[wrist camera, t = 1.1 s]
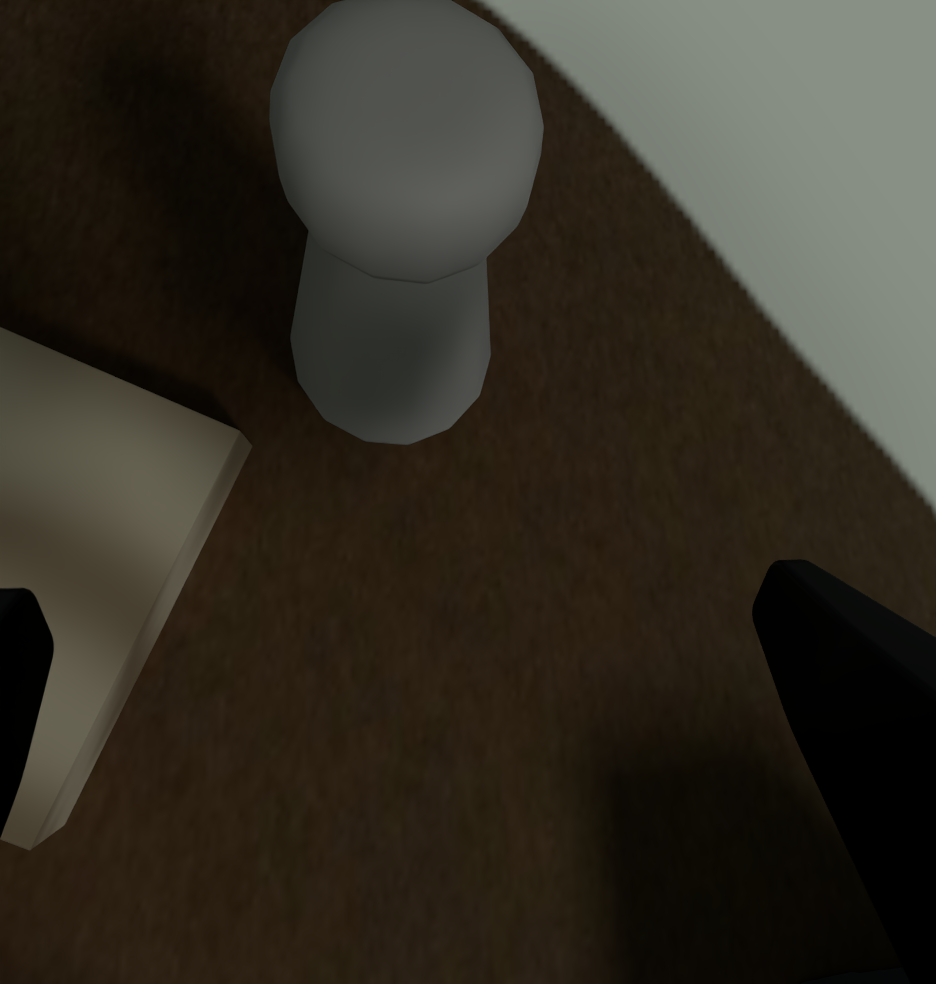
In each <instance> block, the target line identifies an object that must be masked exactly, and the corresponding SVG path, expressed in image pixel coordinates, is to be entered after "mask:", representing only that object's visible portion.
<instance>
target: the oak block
mask: <svg viewBox="0 0 936 984" xmlns="http://www.w3.org/2000/svg"><path fill="white" fill-rule="evenodd" d="M251 448H252V445H251V444H250V442H249V441H248V440H247V439H246V437H245V436H244V435H243V434H242V433H241V431H239V430H237V429H235V428H232V427H230V426H228V425H225V424H223V423H221V422H218V421H216V420H214V419H211V418H209V417H207V416H204V415H202V414H200V413H198V412H195V411H193V410H191V409H188V408H186V407H184V406H181V405H179V404H177V403H174V402H172V401H170V400H167V399H165V398H163V397H161V396H158V395H156V394H154V393H151V392H149V391H147V390H144V389H142V388H140V387H137V386H135V385H133V384H130V383H128V382H126V381H124V380H121V379H119V378H117V377H114V376H112V375H110V374H107V373H105V372H103V371H100V370H98V369H96V368H94V367H91V366H89V365H87V364H84V363H82V362H80V361H77V360H75V359H73V358H70V357H68V356H66V355H63V354H61V353H59V352H57V351H54V350H52V349H50V348H47V347H45V346H43V345H40V344H38V343H36V342H33V341H31V340H29V339H26V338H24V337H22V336H20V335H17V334H15V333H13V332H10V331H8V330H6V329H3V328H1V327H0V588H20V587H23V588H27V589H30V590H31V591H32V592H33V593H34V594H35V596H36V598H37V600H38V603H39V605H40V607H41V610H42V612H43V615H44V617H45V619H46V622H47V624H48V626H49V629H50V631H51V633H52V637H53V641H54V654H53V659H52V663H51V667H50V671H49V675H48V679H47V683H46V687H45V691H44V695H43V699H42V703H41V707H40V711H39V715H38V719H37V723H36V727H35V731H34V735H33V739H32V743H31V747H30V751H29V755H28V759H27V763H26V766H25V770H24V773H23V777H22V780H21V783H20V786H19V789H18V792H17V795H16V798H15V801H14V804H13V806H12V809H11V812H10V814H9V817H8V819H7V822H6V825H5V827H4V830H3V833H2V835H1V838H0V839H1V840H4V841H6V842H9V843H12V844H14V845H17V846H19V847H22V848H25V849H27V850H31V849H32V848H34V847H35V846H36V845H38V844H39V843H40V842H42V841H43V840H45V839H46V838H47V837H49V836H50V835H51V834H53V833H54V832H56V831H57V830H58V829H60V828H61V827H62V826H64V825H65V823H66V821H67V819H68V817H69V815H70V813H71V811H72V809H73V807H74V805H75V803H76V801H77V799H78V797H79V795H80V793H81V791H82V789H83V787H84V785H85V783H86V781H87V779H88V777H89V775H90V773H91V771H92V769H93V767H94V765H95V763H96V761H97V759H98V757H99V755H100V753H101V751H102V749H103V747H104V744H105V742H106V740H107V738H108V736H109V734H110V732H111V730H112V728H113V726H114V724H115V722H116V720H117V718H118V716H119V714H120V712H121V710H122V708H123V706H124V704H125V702H126V700H127V698H128V696H129V694H130V692H131V690H132V688H133V686H134V684H135V682H136V680H137V678H138V676H139V674H140V672H141V670H142V668H143V666H144V664H145V662H146V660H147V658H148V656H149V654H150V652H151V650H152V648H153V646H154V644H155V642H156V640H157V638H158V636H159V634H160V632H161V630H162V628H163V626H164V624H165V622H166V620H167V618H168V616H169V613H170V611H171V609H172V607H173V605H174V603H175V601H176V599H177V597H178V595H179V593H180V591H181V589H182V587H183V585H184V583H185V581H186V579H187V577H188V575H189V573H190V571H191V569H192V567H193V565H194V563H195V561H196V559H197V557H198V555H199V553H200V551H201V549H202V547H203V545H204V543H205V541H206V539H207V537H208V535H209V533H210V531H211V529H212V527H213V525H214V523H215V521H216V519H217V517H218V515H219V513H220V511H221V509H222V507H223V505H224V503H225V501H226V499H227V497H228V495H229V493H230V491H231V489H232V487H233V485H234V482H235V480H236V478H237V476H238V474H239V472H240V470H241V468H242V466H243V464H244V462H245V460H246V458H247V456H248V454H249V452H250V450H251Z"/></svg>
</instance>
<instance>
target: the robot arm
mask: <svg viewBox="0 0 936 984" xmlns="http://www.w3.org/2000/svg"><path fill="white" fill-rule="evenodd" d="M752 616H753V622H754V625H755V628H756V631H757V634H758V637H759V640H760V643H761V646H762V649H763V651H764V654H765V657H766V660H767V663H768V666H769V669H770V672H771V674H772V677H773V680H774V683H775V686H776V689H777V692H778V695H779V697H780V700H781V703H782V706H783V709H784V712H785V714H786V717H787V719H788V722H789V724H790V727H791V729H792V732H793V734H794V736H795V738H796V741H797V743H798V745H799V747H800V750H801V752H802V754H803V756H804V758H805V760H806V762H807V764H808V767H809V769H810V771H811V773H812V775H813V777H814V779H815V782H816V784H817V786H818V788H819V790H820V792H821V794H822V797H823V799H824V801H825V803H826V805H827V807H828V809H829V811H830V814H831V816H832V818H833V820H834V822H835V824H836V826H837V829H838V831H839V833H840V835H841V837H842V839H843V841H844V843H845V846H846V848H847V850H848V852H849V854H850V856H851V858H852V861H853V863H854V865H855V867H856V869H857V871H858V873H859V875H860V878H861V880H862V882H863V884H864V886H865V888H866V890H867V893H868V895H869V897H870V899H871V901H872V903H873V905H874V908H875V910H876V912H877V914H878V916H879V918H880V920H881V922H882V925H883V927H884V929H885V931H886V933H887V935H888V937H889V940H890V942H891V944H892V946H893V948H894V950H895V952H896V954H897V957H898V959H899V961H900V963H901V965H902V967H903V969H904V972H905V974H906V976H907V978H908V980H909V982H910V984H936V637H934V636H933V635H931V634H929V633H928V632H926V631H924V630H923V629H921V628H919V627H918V626H916V625H914V624H913V623H911V622H909V621H908V620H906V619H904V618H903V617H901V616H899V615H898V614H896V613H894V612H893V611H891V610H889V609H888V608H886V607H884V606H883V605H881V604H879V603H878V602H876V601H875V600H873V599H871V598H870V597H868V596H866V595H865V594H863V593H861V592H860V591H858V590H856V589H855V588H853V587H851V586H850V585H848V584H846V583H845V582H843V581H841V580H840V579H838V578H836V577H835V576H833V575H831V574H830V573H828V572H826V571H825V570H823V569H821V568H820V567H818V566H816V565H815V564H813V563H811V562H809V561H807V560H801V559H797V560H778V561H775V562H774V563H773V564H772V565H771V566H770V567H769V569H768V571H767V573H766V576H765V578H764V580H763V583H762V585H761V587H760V590H759V592H758V594H757V596H756V599H755V601H754V604H753V609H752ZM53 654H54V641H53V637H52V633H51V631H50V629H49V626H48V624H47V622H46V619H45V617H44V615H43V612H42V610H41V607H40V605H39V603H38V600H37V598H36V596H35V594H34V593H33V592H32V591H31V590H30V589H27V588H23V587H20V588H0V838H1V835H2V833H3V830H4V827H5V825H6V822H7V819H8V817H9V814H10V812H11V809H12V806H13V804H14V801H15V798H16V795H17V792H18V789H19V786H20V783H21V780H22V777H23V773H24V770H25V766H26V763H27V759H28V755H29V751H30V747H31V743H32V739H33V735H34V731H35V727H36V723H37V719H38V715H39V711H40V707H41V703H42V699H43V695H44V691H45V687H46V683H47V679H48V675H49V671H50V667H51V663H52V659H53Z"/></svg>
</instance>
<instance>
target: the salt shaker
mask: <svg viewBox="0 0 936 984" xmlns="http://www.w3.org/2000/svg"><path fill="white" fill-rule="evenodd" d="M269 121H270V126H271V132H272V138H273V144H274V150H275V155H276V161H277V167H278V173H279V178H280V181H281V184H282V186H283V189H284V192H285V195H286V198H287V201H288V202H289V204H290V205H291V206H292V208H293V209H294V211H295V212H296V213H297V215H298V216H299V218H300V219H301V220H302V222H303V223H304V225H305V226H306V227H307V229H308V230H309V232H308V238H307V243H306V249H305V255H304V261H303V266H302V272H301V278H300V284H299V290H298V295H297V301H296V307H295V313H294V318H293V324H292V330H291V336H290V340H291V346H292V351H293V357H294V363H295V368H296V374H297V379H298V382H299V384H300V385H301V387H302V388H303V389H304V391H305V392H306V394H307V395H308V397H309V398H310V400H311V401H312V402H313V404H314V405H315V407H316V408H317V410H318V411H319V413H320V414H321V416H322V417H323V418H324V419H325V420H326V421H328V422H330V423H332V424H333V425H335V426H337V427H339V428H341V429H343V430H345V431H347V432H348V433H350V434H352V435H354V436H356V437H358V438H360V439H362V440H363V441H365V442H376V443H389V444H403V445H409V444H412V443H414V442H417V441H420V440H422V439H425V438H427V437H430V436H432V435H435V434H437V433H440V432H442V431H445V430H447V429H449V428H450V427H451V426H452V425H453V424H454V423H455V422H456V421H457V420H458V419H459V417H460V416H461V415H462V414H463V413H464V412H465V411H466V410H467V409H468V408H469V407H470V406H471V404H472V403H473V402H474V401H475V400H476V399H477V398H478V397H479V396H480V392H481V389H482V385H483V382H484V378H485V374H486V371H487V367H488V363H489V360H490V356H491V353H490V331H489V309H488V287H487V265H486V257H487V256H488V255H489V254H490V253H491V252H492V251H493V250H494V249H495V248H496V247H497V246H498V245H499V244H500V243H501V242H502V241H503V240H504V239H505V238H506V237H507V236H508V235H509V234H510V233H511V232H512V231H513V230H514V229H515V228H516V227H517V226H518V224H519V222H520V220H521V218H522V215H523V213H524V211H525V209H526V207H527V204H528V201H529V197H530V193H531V189H532V185H533V182H534V178H535V174H536V170H537V167H538V163H539V159H540V155H541V147H542V137H543V128H544V126H543V121H542V116H541V111H540V106H539V101H538V96H537V92H536V87H535V82H534V77H533V73H532V72H531V70H530V69H529V68H528V67H527V65H526V64H525V63H524V61H523V60H522V59H521V58H520V56H519V55H518V54H517V52H516V51H515V50H514V49H513V47H512V46H511V45H510V43H509V42H508V41H507V40H506V38H505V37H504V36H503V34H502V33H501V32H500V31H499V29H498V28H496V27H495V26H493V25H491V24H490V23H488V22H486V21H485V20H483V19H481V18H480V17H478V16H476V15H475V14H473V13H471V12H470V11H468V10H466V9H465V8H463V7H461V6H460V5H458V4H456V3H455V2H453V1H451V0H345V1H341V2H336V3H332V4H331V5H330V6H329V7H328V8H326V9H325V10H324V11H323V12H322V13H321V14H320V15H318V16H317V17H316V18H315V19H314V20H313V21H312V22H310V23H309V24H308V25H307V26H306V27H305V28H304V29H302V30H301V31H300V32H299V33H298V34H297V35H296V36H294V37H293V38H292V39H291V40H290V42H289V45H288V48H287V50H286V53H285V55H284V58H283V60H282V63H281V66H280V68H279V71H278V73H277V76H276V79H275V81H274V84H273V86H272V89H271V94H270V120H269Z"/></svg>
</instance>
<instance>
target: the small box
mask: <svg viewBox="0 0 936 984" xmlns="http://www.w3.org/2000/svg"><path fill="white" fill-rule="evenodd" d="M802 984H910V982H909V980H908V978H907V976H906V974H905V972H904V969H903V967H900V968H894V969H887V970H875V971H870V972H863V973H856V972H848V973H844V974H839V975H834V976H830V977H824V978H821V979H817V980H810V981H806V982H803V983H802Z"/></svg>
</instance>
